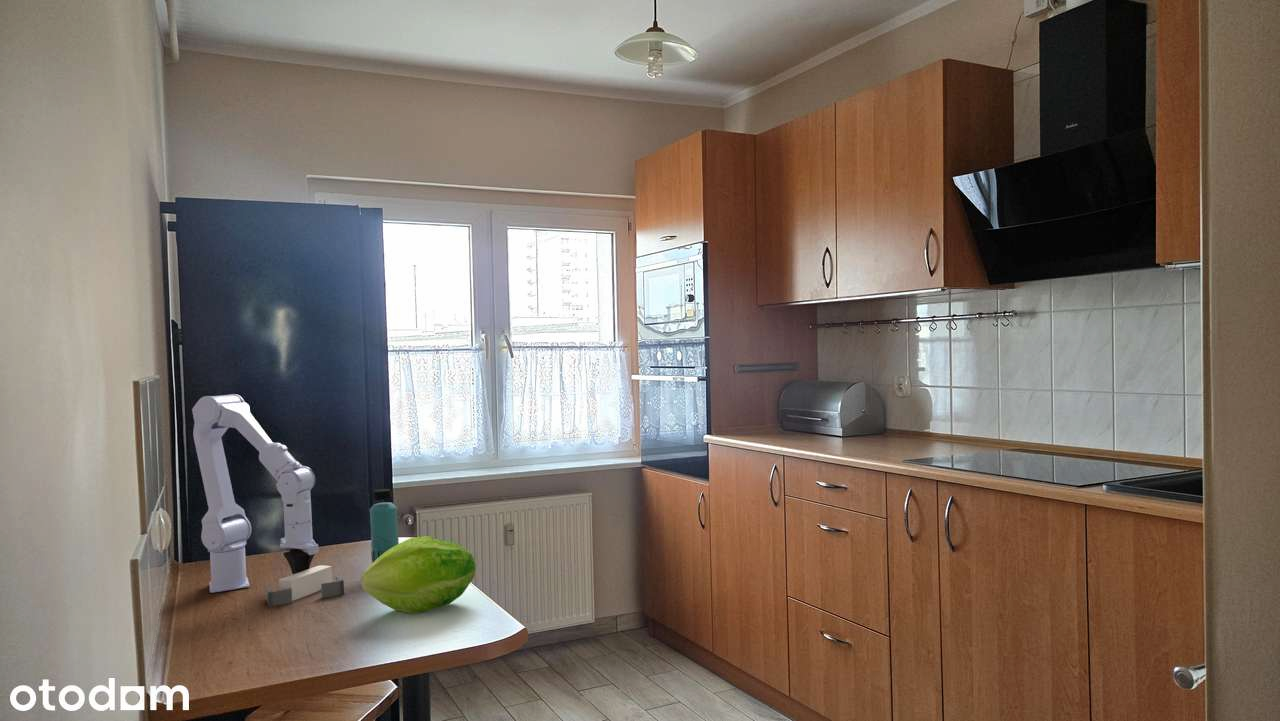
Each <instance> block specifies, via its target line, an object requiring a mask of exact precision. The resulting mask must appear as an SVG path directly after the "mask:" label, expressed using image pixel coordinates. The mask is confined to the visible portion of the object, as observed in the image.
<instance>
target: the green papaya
mask: <svg viewBox="0 0 1280 721" xmlns="http://www.w3.org/2000/svg"><path fill="white" fill-rule="evenodd" d="M476 566H477V562H476V560H475V558H474V556H473V554H472V552H471V551H469V550H468V549H466V548H465V547H463V546H462V545H460V544H458V543H457V542H455V541H454V542H453V541H448V540H443V539H437V538H434V537H431V536H430V535H421V536H416V537H411V538H408V539H406V540H404V541H402V542H399V544H397V545H396V546H394V547H392V548H391V549H389V550H387V551H386V552H385V553H384V554H382V555H381V556H380V557H379V558H377V559H376V560H375V561H374V562H373V563H371V564H370V565H369V566H368V567H367V569H365V570H364V572H363V573H362V574H361V576H360V585H361V587H362V589H363V591H365V592H366V593H367V594H368V595H369V596H371V597H372V598H374V599H376V600H377V601H378V602H380V603H381V604H382V605H384V606H386V607H388V608H390V609H392V610H394V611H397V612H400V613H405V614H415V613H416V614H417V613H425V612H428V611H431V610H434V609H438V608H440V607H443V606H447V605H448V604H449V605H450V604H451V603H453V602H454V601H456V600H457V599H459V598H460V597H461V596H462V595H463V594H464V593H465V591H466V590H467V589H468V587H469V585H470V584H471V583H472V581H473V580H474V578H475V573H476V569H477V568H476Z"/></svg>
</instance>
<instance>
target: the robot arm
mask: <svg viewBox="0 0 1280 721" xmlns="http://www.w3.org/2000/svg"><path fill="white" fill-rule="evenodd" d="M191 411H192V412H191V413H192V415H193V416H192V418H193V422H194V424H193V430H192V431H193V433H192V435H193V436H192V437H193V441H194V445H195V451H196V455H197V459H198V463H199V464H198V465H199V469H200V473H201V477H202V483H203V488H204V493H205V497H206V498H205V499H206V502H207V506H208V510H207V512H206V513H205V515H204V516H203V517H202V518H201V525H202V527H201V535H200V538H201V542H202V544H203V546H204V547H205V548H206V549H207V552H208V553H209V554H210V555H209V558H210V562H209V564H210V581H209V582H208V584H209V585H208V586H209V593H210V594H212V593H219V592H226V591H233V590H239V589H244V588H249V587H250V582H249V578H248V577H247V566H246V564H247V563H246V561H247V560H246V545H247V540H248V539H249V538H250V537H251V534H252V525H251V522H250V520H249V518H248V517H247V516H246V513H245V509H244V508H242V507H241V506H239V504H238V503H236V500H235V496H234V492H233V488H232V482H231V478H230V473H229V468H228V463H227V458H226V454H225V450H224V445H223V439H222V437H223V435H225V433H226V432H227V430H228V429H229V428H232V429H236V430H237V432H239V433H240V434H241V435H242V436H243V437H244V438H245V439H246V440H247V441H248V442H249V443H250V444H251V445H252V446H253V447H254V449H256V450H257V452H259V454H258V460H259V461H260V463H261V464H262V466H264V467H265V469H266V470H267V471H268V472H269V473H270V474H271V476H273V478H274V479H275V480H276V481H277V482H276V483H275V486H276V490H277V491H278V493H279V494H280V496H281V502H283V503H282V504H283V523H284V525H283V526H284V527H283V528H284V537H282V538H280V544H279V548H281V549H290V550H289V551H285V552H283V557H284V558H285V559H286V561H287V562H288V565H289V567H290V570H291V573H292V574H291V575H293V574H296V573H299V572H302V571H304V570H307V569H310V568H311V564H312V560H313V559H314V556H315V555H317V554H319V552H320V551H319V544H318V543H316V542H315V540H314V539H313V523H312V522H313V519H312V518H313V517H312V500H311V498H312V497H311V490H312V489H313V488H314V486H315V484H316V476H315V473H314V471H313V470H312V468H310V467H309V466H306V465H302V464H301V463H300V462H299V461H297V460H296V459H295V458H294V456H292V454H291V453H290V452H289V451H288V449H289V448H288V447H287V446H286V445H285V444H282V443H281V442H273V441H272V439H271V438H270V437H269V436H268V434H267V433H266V432H265V430H264V429H263V428H262V426H261V425H260V423H259V422H258V421H257V419H255V417H254V415H253V414H252V413H251V409H250V405H249V403H247V402H245V399H244V398H243V397H242V396H241V395H239V394H235V393H230V394H224V395H212V396H210V395H206V396H202V397H201V398H199V399H198V401H196V403H195V405H194V406H193V407H192V408H191Z"/></svg>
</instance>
